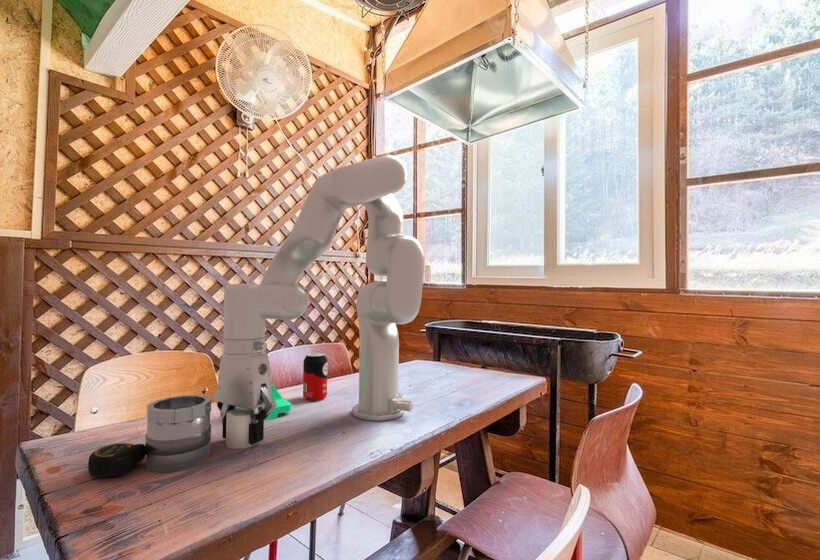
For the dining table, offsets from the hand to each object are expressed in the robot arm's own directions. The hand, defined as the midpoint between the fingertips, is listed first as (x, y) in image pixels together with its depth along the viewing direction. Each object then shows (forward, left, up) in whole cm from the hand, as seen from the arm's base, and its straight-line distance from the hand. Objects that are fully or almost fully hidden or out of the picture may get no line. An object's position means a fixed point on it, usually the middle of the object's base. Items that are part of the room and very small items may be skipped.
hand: (242, 438), depth 79 cm
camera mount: (+9, -14, -1) cm, 16 cm away
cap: (0, 0, -1) cm, 1 cm away
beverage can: (+6, -30, -1) cm, 31 cm away
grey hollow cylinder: (+4, +11, -1) cm, 11 cm away
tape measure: (+9, +17, -1) cm, 20 cm away
